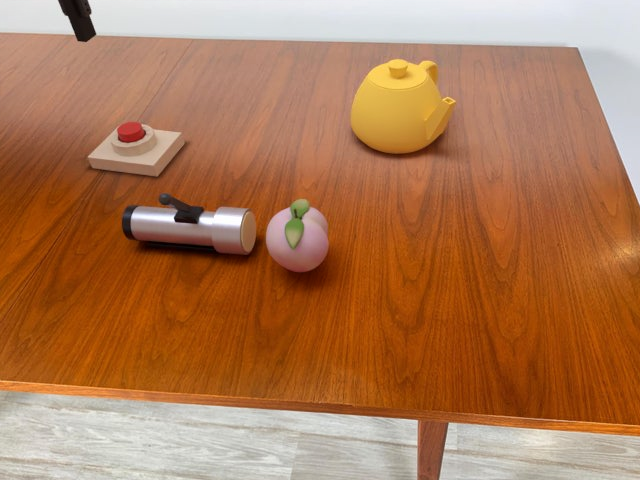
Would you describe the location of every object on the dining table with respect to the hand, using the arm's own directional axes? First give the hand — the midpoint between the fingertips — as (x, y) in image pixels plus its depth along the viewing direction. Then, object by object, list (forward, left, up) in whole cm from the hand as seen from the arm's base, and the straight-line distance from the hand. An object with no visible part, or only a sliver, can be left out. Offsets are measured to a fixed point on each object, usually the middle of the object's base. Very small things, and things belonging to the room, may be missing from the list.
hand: (87, 37), depth 87 cm
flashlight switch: (+23, -21, -13) cm, 33 cm away
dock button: (+3, -2, -16) cm, 16 cm away
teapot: (+47, +14, -19) cm, 53 cm away
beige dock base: (+3, -2, -19) cm, 20 cm away
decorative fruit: (+39, -22, -20) cm, 48 cm away
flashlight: (+22, -21, -19) cm, 36 cm away
